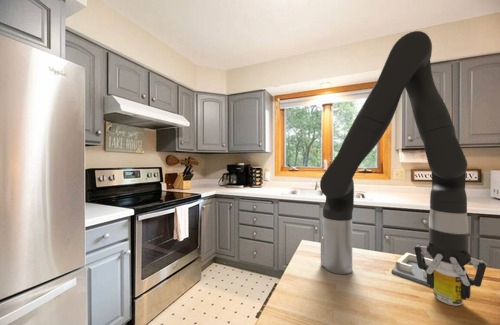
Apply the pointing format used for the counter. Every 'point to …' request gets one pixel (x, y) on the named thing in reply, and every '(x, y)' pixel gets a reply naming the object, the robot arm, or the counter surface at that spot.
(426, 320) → the counter surface
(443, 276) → the supplement bottle
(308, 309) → the counter surface
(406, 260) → the grey board with frame
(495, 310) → the counter surface
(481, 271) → the robot arm
